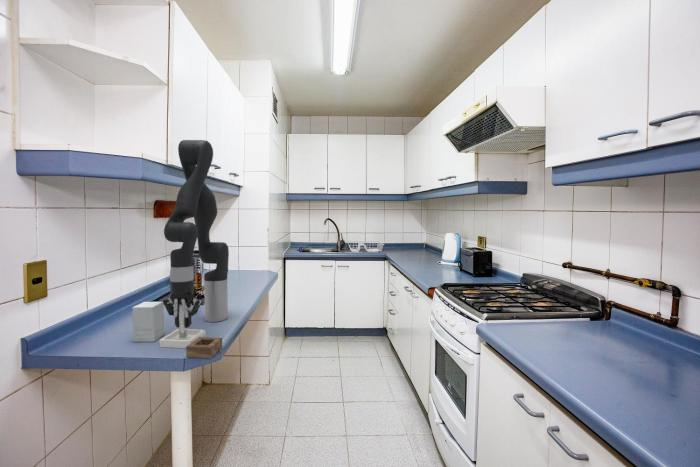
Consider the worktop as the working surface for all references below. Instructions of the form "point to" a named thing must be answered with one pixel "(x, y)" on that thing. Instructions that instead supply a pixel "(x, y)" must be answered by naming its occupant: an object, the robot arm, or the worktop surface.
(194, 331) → the tray
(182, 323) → the cylinder
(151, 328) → the supplement box
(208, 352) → the bore block
